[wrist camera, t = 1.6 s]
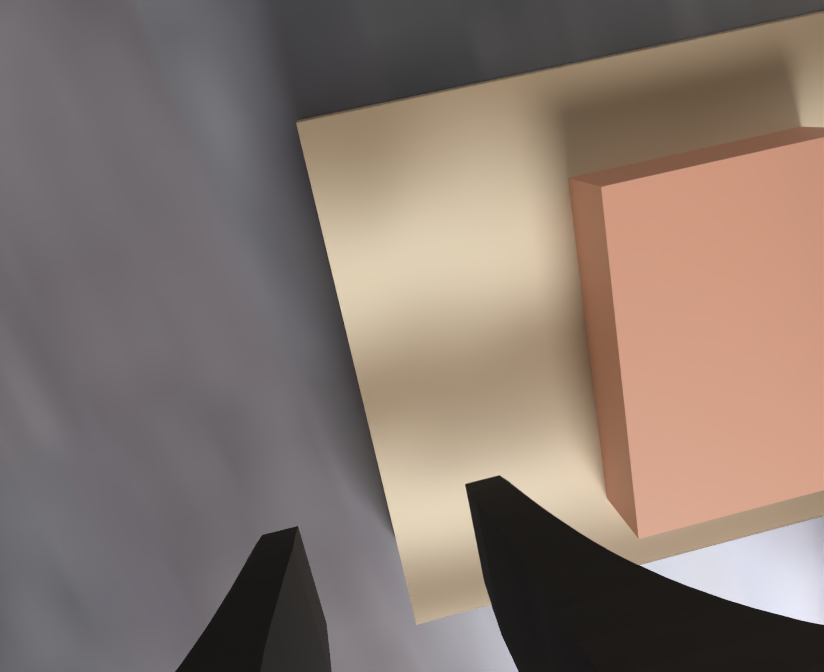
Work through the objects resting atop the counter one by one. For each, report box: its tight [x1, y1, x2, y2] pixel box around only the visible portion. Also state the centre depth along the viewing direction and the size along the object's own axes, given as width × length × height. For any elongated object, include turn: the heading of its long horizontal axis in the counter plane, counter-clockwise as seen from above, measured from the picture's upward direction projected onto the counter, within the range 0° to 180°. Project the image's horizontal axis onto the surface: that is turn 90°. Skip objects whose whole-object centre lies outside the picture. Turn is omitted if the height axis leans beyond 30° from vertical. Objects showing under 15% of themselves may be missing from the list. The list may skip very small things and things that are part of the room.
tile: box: [568, 127, 824, 539], centre depth 18 cm, size 9×6×2 cm, turn 11°
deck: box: [296, 10, 824, 625], centre depth 21 cm, size 14×16×4 cm
